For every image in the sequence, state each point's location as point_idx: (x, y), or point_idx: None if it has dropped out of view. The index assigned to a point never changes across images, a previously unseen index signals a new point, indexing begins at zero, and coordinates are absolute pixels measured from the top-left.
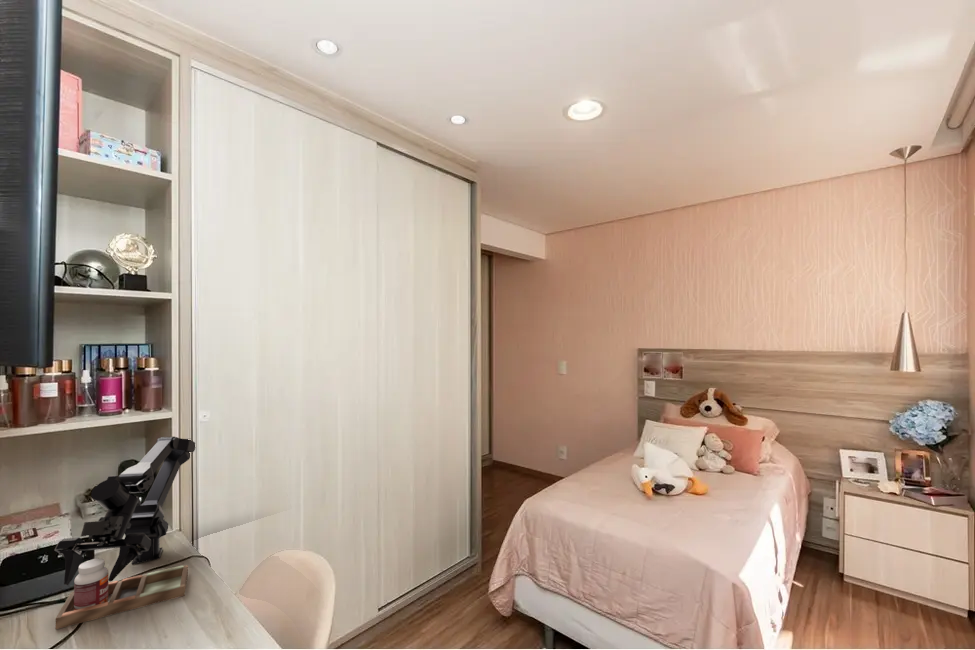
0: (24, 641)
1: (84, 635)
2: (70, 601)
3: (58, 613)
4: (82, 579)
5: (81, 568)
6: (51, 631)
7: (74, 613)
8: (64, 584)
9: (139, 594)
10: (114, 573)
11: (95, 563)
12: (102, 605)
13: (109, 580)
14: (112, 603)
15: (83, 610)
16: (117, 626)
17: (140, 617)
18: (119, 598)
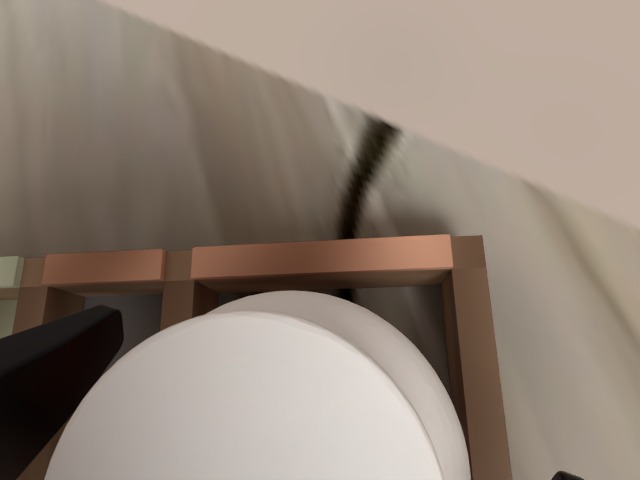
0: (593, 209)
1: (296, 127)
2: (471, 470)
3: (489, 299)
4: (343, 313)
5: (363, 356)
6: None
7: (377, 242)
8: (574, 475)
9: (24, 298)
10: (35, 333)
11: (166, 470)
12: (221, 247)
13: (114, 310)
14: (169, 258)
15: (326, 243)
16: (162, 137)
17: (69, 169)
18: None
